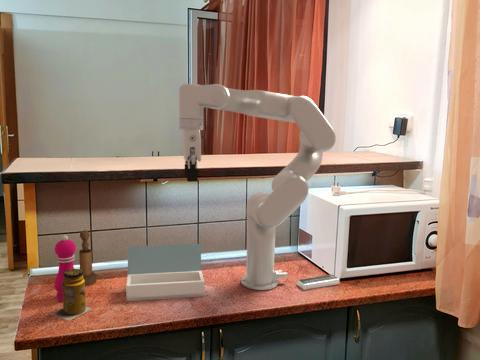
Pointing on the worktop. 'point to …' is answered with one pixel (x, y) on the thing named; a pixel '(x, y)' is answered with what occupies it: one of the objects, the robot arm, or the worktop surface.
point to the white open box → (164, 285)
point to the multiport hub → (318, 282)
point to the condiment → (72, 295)
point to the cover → (164, 258)
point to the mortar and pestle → (86, 260)
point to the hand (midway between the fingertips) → (190, 178)
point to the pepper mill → (63, 262)
